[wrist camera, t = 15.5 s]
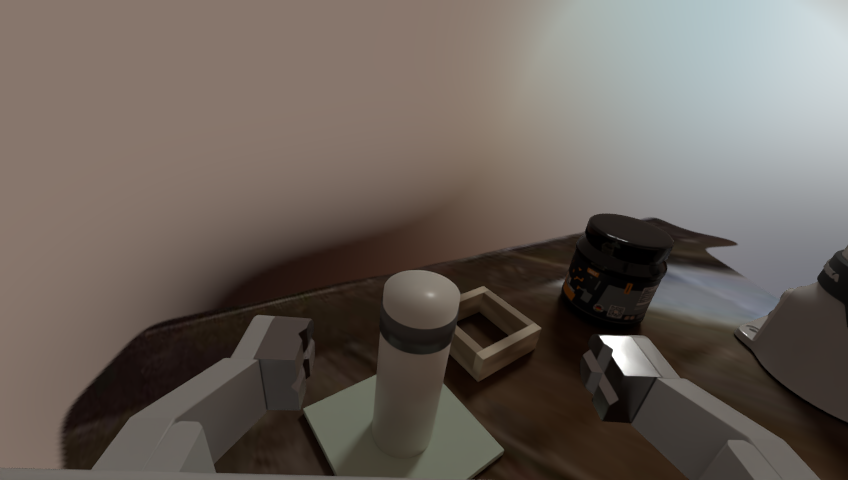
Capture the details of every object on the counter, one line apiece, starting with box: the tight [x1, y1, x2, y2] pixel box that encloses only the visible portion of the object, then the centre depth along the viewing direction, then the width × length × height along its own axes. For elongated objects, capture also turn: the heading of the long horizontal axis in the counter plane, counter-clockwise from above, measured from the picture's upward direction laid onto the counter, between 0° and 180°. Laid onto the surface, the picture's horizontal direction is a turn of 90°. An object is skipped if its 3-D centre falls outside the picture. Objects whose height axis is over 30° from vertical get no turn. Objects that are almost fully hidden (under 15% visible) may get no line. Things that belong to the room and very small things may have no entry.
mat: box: [303, 375, 504, 480], centre depth 31 cm, size 12×12×1 cm
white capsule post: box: [372, 270, 460, 458], centre depth 28 cm, size 5×5×14 cm
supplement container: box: [561, 214, 674, 330], centre depth 48 cm, size 10×10×12 cm
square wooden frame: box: [449, 286, 542, 382], centre depth 42 cm, size 9×9×3 cm
